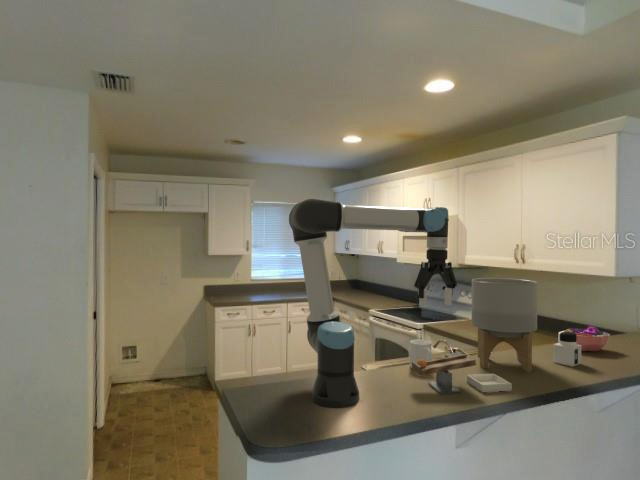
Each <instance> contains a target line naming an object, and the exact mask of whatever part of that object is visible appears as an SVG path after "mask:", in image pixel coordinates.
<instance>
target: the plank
mask: <svg viewBox="0 0 640 480" xmlns="http://www.w3.org/2000/svg"><path fill="white" fill-rule="evenodd" d="M444 356H445V357H443V358H438V359H433V360H431V361H426V362H427V366H426V367H425V368H424V369H422V368H421V366H420V365H418V364H417V363H416V362H414V361H411V362H412V368H411V369H412V371H414V372H415V373H416V374H417V375H419V377H422V376H427V375H432V374H433V375H434V374H436V373H438V372H444V371H449V372H450V371H454V370H459V369H462V368H463V369H465V368H469V367H475V366H477V360H476V359H474V358H472V359H471V358H469V357H467V354H466V353H463V354H462V353H460V352H459V351H457V352H452V353H446V354H444Z"/></svg>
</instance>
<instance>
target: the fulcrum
mask: <svg viewBox="0 0 640 480" xmlns="http://www.w3.org/2000/svg"><path fill="white" fill-rule="evenodd" d="M435 374H436V377H435V378H436V379H435V381H428V382H427V384H428V386H430V387H431V388H432V389H433V390H435V391H436V393H438V394H439V395H456V394H458V395H459V394H460V395H461V390H460V389H458V388H457V387H456V386H454V385H453V373H452V372H450V370H449V371H444V372H438V373H435Z"/></svg>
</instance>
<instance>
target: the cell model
mask: <svg viewBox="0 0 640 480" xmlns="http://www.w3.org/2000/svg"><path fill="white" fill-rule="evenodd" d="M563 331H569V332H573V333H575V334H576V335H577V345H581V352H597V351H600V350H601V349H603V348H604V347H605V346H606V345H607V344H608V342H609V340H610V338H611V334H610V333H608V332H605V331H600V330H599V329H598V328H597V327H595V326H594V325H587V326H586V328H576V327H569V328H567V329H565V330H563Z"/></svg>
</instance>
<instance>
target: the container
mask: <svg viewBox="0 0 640 480" xmlns="http://www.w3.org/2000/svg"><path fill="white" fill-rule="evenodd" d="M557 337H558V338H557V339H558V342H557V343H554V344H553V351H552V352H553V355H552V357H553V359H552V360H553V363H555V364H559V365H564V366H568V367H576V366H578V365H581V364H582V350H581V345H577V335H576V334H575V333H573V332H569V331H564V330H562V331H559V332H558V335H557Z"/></svg>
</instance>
